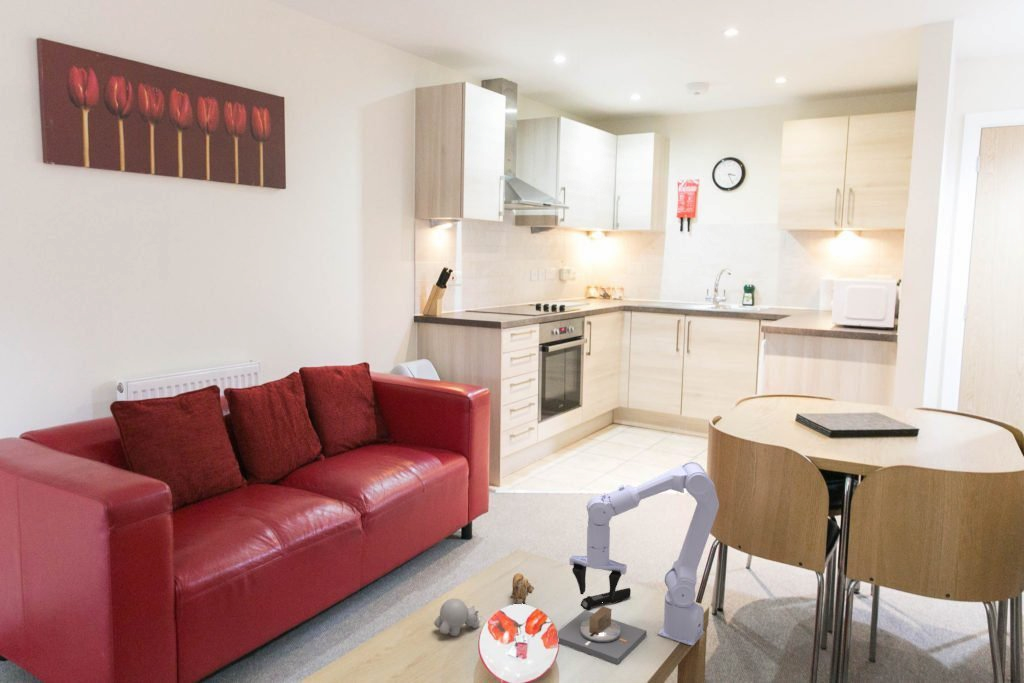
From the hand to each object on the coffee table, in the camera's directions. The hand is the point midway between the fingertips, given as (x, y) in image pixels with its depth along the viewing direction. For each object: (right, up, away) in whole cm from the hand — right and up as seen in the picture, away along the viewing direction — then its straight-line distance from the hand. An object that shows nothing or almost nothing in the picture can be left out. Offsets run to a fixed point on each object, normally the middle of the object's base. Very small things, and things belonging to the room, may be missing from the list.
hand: (597, 595), depth 186 cm
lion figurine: (-19, -8, +16) cm, 26 cm away
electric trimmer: (+4, -8, +17) cm, 19 cm away
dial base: (0, -10, -3) cm, 10 cm away
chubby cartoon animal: (-35, -10, 0) cm, 36 cm away
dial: (0, -8, -3) cm, 9 cm away
